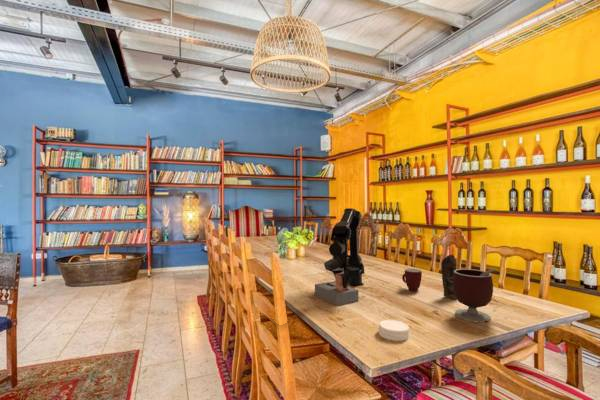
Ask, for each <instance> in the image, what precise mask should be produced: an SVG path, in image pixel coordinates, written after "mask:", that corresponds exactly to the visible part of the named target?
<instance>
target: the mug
mask: <svg viewBox="0 0 600 400" xmlns="http://www.w3.org/2000/svg"><path fill="white" fill-rule="evenodd" d="M422 277H423V273H422V270H421V269H417V268H406V269H404V273H403V275H402V276H401V278H402V282H403V283H405V284H406V287H407V288H408V290H409V291H411V292H418V291H419V288H420V287H421V282H422Z"/></svg>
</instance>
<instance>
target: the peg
mask: <svg viewBox="0 0 600 400" xmlns="http://www.w3.org/2000/svg"><path fill="white" fill-rule="evenodd" d="M340 274H342V273H336V274H335V276H334V278H335V288H336V290H337V291H339V292H344V291H348V286H349V284H347V286H346V288H343V279H342V276H341V275H340Z"/></svg>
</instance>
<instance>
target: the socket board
mask: <svg viewBox="0 0 600 400" xmlns="http://www.w3.org/2000/svg"><path fill="white" fill-rule="evenodd" d="M314 296H316V297H318V298H321V299H322V300H323V301H327V302H329V303H331V304H332V305H335V306H337V307H338V306H342V305H346V304H351V303H357V302H359V290H358V289H356V288H355V287H351V286H349V285H348V291H344V292H339V291H337V290H336V288H335V281H334V280H333V281H328V282H323V283H322V282H320V283H315V284H314Z"/></svg>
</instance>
